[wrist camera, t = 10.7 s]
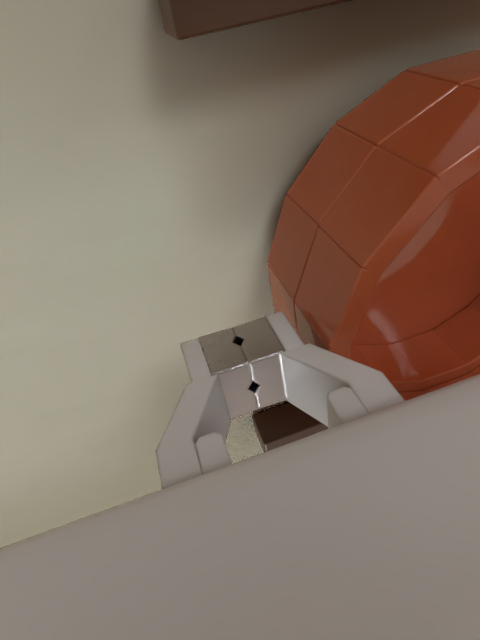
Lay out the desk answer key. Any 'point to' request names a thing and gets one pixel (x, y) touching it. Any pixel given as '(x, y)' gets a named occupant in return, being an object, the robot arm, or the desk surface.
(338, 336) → the bowl
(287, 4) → the frame
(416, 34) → the desk surface
